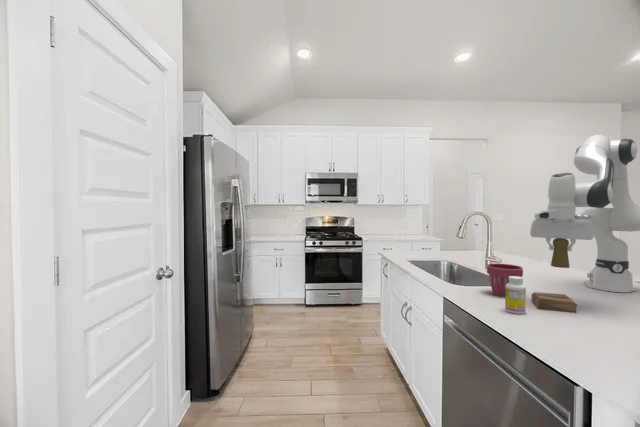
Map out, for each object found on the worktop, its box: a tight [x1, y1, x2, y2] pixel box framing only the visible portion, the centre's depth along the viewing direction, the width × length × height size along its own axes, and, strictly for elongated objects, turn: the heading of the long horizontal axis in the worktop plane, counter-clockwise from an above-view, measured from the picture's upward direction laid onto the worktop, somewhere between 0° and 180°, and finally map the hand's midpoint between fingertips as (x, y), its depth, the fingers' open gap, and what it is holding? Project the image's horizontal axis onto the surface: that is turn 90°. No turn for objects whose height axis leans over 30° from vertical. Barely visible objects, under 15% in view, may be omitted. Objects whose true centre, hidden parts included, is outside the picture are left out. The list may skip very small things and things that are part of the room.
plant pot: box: [486, 263, 524, 298], centre depth 154 cm, size 14×14×13 cm
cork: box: [550, 238, 571, 269], centre depth 135 cm, size 6×6×11 cm
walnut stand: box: [531, 291, 577, 314], centre depth 136 cm, size 12×12×4 cm
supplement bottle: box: [504, 276, 527, 315], centre depth 128 cm, size 7×7×13 cm
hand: (560, 250), depth 135 cm, fingers closed on cork, 4 cm apart
